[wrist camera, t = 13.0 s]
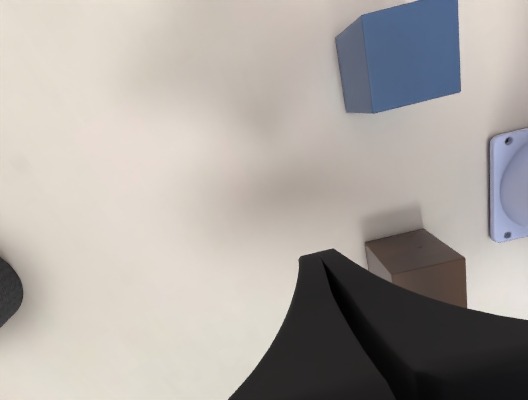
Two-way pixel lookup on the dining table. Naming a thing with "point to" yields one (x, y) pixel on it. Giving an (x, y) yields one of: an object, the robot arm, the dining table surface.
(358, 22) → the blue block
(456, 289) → the walnut block
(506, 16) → the dining table surface
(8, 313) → the coffee cup
